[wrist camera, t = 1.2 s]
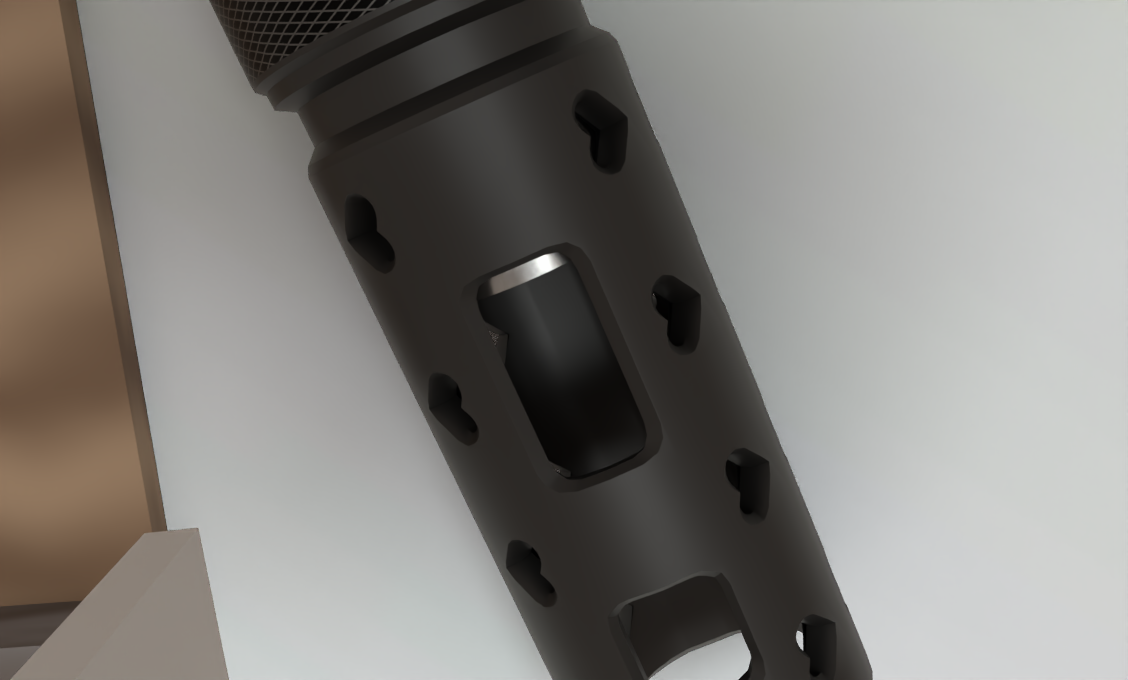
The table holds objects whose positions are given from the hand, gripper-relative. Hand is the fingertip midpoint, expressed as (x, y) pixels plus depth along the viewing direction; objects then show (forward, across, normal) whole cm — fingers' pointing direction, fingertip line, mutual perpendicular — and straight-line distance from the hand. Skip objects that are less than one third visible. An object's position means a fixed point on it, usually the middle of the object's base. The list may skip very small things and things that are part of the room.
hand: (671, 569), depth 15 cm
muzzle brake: (+21, -2, +1) cm, 21 cm away
